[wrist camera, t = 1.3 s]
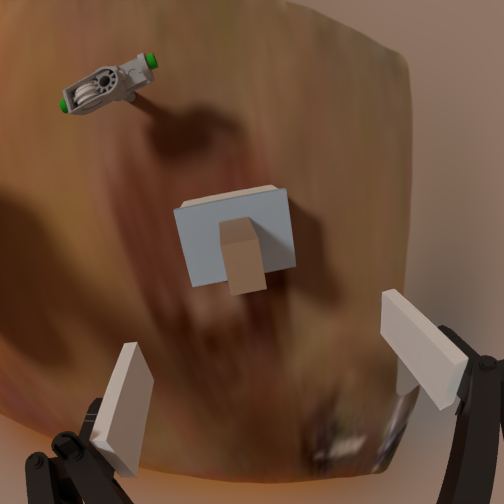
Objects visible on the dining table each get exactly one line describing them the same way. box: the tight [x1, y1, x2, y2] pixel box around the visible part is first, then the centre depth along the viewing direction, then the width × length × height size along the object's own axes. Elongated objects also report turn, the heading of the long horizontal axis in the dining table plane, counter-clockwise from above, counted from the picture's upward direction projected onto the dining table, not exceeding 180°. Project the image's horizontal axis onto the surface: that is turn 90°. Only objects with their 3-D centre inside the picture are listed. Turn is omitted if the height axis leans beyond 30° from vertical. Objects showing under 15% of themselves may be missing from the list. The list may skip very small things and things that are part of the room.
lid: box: [174, 188, 296, 296], centre depth 30 cm, size 12×9×10 cm
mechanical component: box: [60, 53, 158, 115], centre depth 28 cm, size 3×10×10 cm, turn 109°
